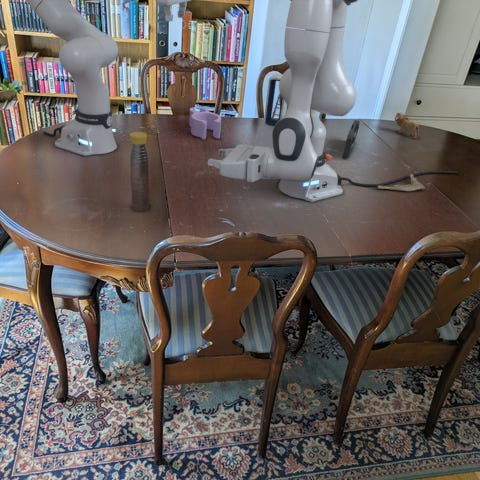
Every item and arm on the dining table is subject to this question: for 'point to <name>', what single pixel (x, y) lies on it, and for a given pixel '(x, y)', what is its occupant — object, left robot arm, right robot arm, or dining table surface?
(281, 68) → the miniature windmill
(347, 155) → the handheld gaming console
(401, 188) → the jawbone
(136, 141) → the cap
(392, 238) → the dining table surface
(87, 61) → the left robot arm
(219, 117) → the clip
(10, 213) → the dining table surface
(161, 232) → the dining table surface
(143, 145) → the bottle
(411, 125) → the lion figurine
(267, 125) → the electronic device
